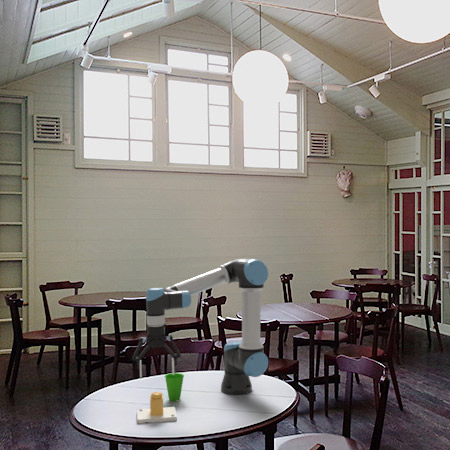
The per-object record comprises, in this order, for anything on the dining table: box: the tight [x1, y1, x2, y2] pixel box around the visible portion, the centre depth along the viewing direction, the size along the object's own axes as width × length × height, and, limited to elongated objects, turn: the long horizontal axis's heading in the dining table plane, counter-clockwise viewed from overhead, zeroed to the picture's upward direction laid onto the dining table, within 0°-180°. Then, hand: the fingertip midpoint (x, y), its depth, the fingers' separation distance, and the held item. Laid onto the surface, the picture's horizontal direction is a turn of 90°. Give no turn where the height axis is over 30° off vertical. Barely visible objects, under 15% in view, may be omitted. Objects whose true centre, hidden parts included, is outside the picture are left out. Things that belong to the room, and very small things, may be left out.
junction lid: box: [136, 406, 178, 424], centre depth 206 cm, size 16×12×6 cm
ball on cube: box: [149, 391, 164, 416], centre depth 206 cm, size 5×5×8 cm
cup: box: [164, 372, 185, 402], centre depth 227 cm, size 9×9×11 cm
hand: (157, 375), depth 206 cm, fingers open, 13 cm apart
